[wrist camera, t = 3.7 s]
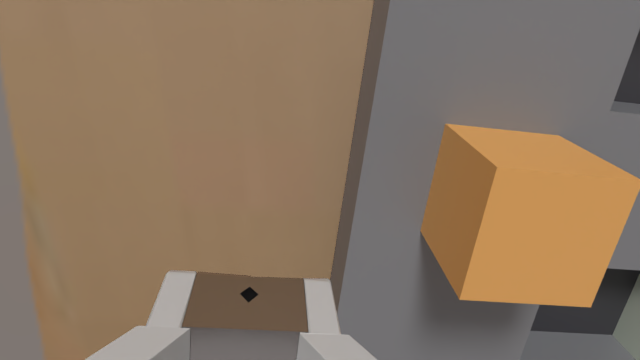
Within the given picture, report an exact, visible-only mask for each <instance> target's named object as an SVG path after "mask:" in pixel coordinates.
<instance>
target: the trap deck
mask: <svg viewBox="0 0 640 360" xmlns="http://www.w3.org/2000/svg"><path fill="white" fill-rule="evenodd" d="M445 124H454V125H464V126H473V127H483V128H492V129H502V130H512V131H521V132H531V133H540V134H550V135H559V136H561V137H563V138H564V139H566V140H568V141H570V142H572V143H574V144H576V145H577V146H579V147H581V148H583V149H585V150H587V151H589V152H590V153H592V154H594V155H596V156H598V157H600V158H602V159H603V160H605V161H607V162H609V163H611V164H613V165H615V166H616V167H618V168H620V169H622V170H624V171H626V172H628V173H629V174H631V175H633V176H635V177H637V178H639V179H640V0H374V5H373V11H372V18H371V24H370V31H369V37H368V43H367V50H366V56H365V62H364V69H363V75H362V82H361V88H360V94H359V101H358V107H357V113H356V120H355V126H354V133H353V139H352V145H351V152H350V158H349V164H348V171H347V177H346V183H345V190H344V196H343V203H342V209H341V215H340V222H339V228H338V234H337V241H336V247H335V254H334V260H333V266H332V273H331V279H330V281H331V285H332V290H333V295H334V300H335V305H336V311H337V316H338V321H339V326H340V331H341V334H344V335H350V336H351V337H352V338H353V339H354V340H355V341H357V342H358V343H359V344H360V345H361V346H362V347H363V348H365V349H366V350H367V351H368V352H369V353H370V354H371V355H373V356H374V357H375V358H376V359H377V360H640V190H639V192H638V195H637V197H636V200H635V202H634V204H633V207H632V209H631V212H630V214H629V216H628V219H627V221H626V224H625V226H624V228H623V231H622V233H621V236H620V238H619V241H618V243H617V245H616V248H615V250H614V253H613V255H612V257H611V260H610V262H609V265H608V267H607V270H606V272H605V274H604V277H603V279H602V282H601V284H600V286H599V289H598V291H597V294H596V296H595V299H594V301H593V303H592V306H591V307H575V306H557V305H540V304H523V303H506V302H489V301H471V300H459V298H458V296H457V295H456V293H455V291H454V289H453V288H452V286H451V284H450V282H449V281H448V279H447V277H446V275H445V273H444V272H443V270H442V268H441V266H440V265H439V263H438V261H437V259H436V258H435V256H434V254H433V252H432V251H431V249H430V247H429V245H428V244H427V242H426V240H425V238H424V236H423V235H422V233H421V231H420V230H421V226H422V222H423V218H424V213H425V209H426V205H427V200H428V196H429V192H430V187H431V183H432V179H433V174H434V170H435V166H436V161H437V157H438V153H439V148H440V144H441V140H442V135H443V131H444V127H445Z"/></svg>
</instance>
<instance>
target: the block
mask: <svg viewBox="0 0 640 360" xmlns="http://www.w3.org/2000/svg"><path fill="white" fill-rule="evenodd" d="M639 190H640V179H639V178H637V177H635V176H633V175H631V174H629V173H628V172H626V171H624V170H622V169H620V168H618V167H616V166H615V165H613V164H611V163H609V162H607V161H605V160H603V159H602V158H600V157H598V156H596V155H594V154H592V153H590V152H589V151H587V150H585V149H583V148H581V147H579V146H577V145H576V144H574V143H572V142H570V141H568V140H566V139H564V138H563V137H561V136H559V135H550V134H540V133H531V132H521V131H512V130H502V129H492V128H483V127H473V126H464V125H454V124H445V127H444V131H443V135H442V140H441V144H440V148H439V153H438V157H437V161H436V166H435V170H434V174H433V179H432V183H431V187H430V192H429V196H428V200H427V205H426V209H425V213H424V218H423V222H422V226H421V230H420V231H421V233H422V235H423V236H424V238H425V240H426V242H427V244H428V245H429V247H430V249H431V251H432V252H433V254H434V256H435V258H436V259H437V261H438V263H439V265H440V266H441V268H442V270H443V272H444V273H445V275H446V277H447V279H448V281H449V282H450V284H451V286H452V288H453V289H454V291H455V293H456V295H457V296H458V298H459V300H471V301H489V302H506V303H523V304H540V305H557V306H575V307H591V306H592V303H593V301H594V299H595V296H596V294H597V291H598V289H599V286H600V284H601V282H602V279H603V277H604V274H605V272H606V270H607V267H608V265H609V262H610V260H611V257H612V255H613V253H614V250H615V248H616V245H617V243H618V241H619V238H620V236H621V233H622V231H623V228H624V226H625V224H626V221H627V219H628V216H629V214H630V212H631V209H632V207H633V204H634V202H635V200H636V197H637V195H638V192H639Z"/></svg>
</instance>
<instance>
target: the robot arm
mask: <svg viewBox="0 0 640 360" xmlns="http://www.w3.org/2000/svg"><path fill="white" fill-rule="evenodd" d="M85 360H377V359H376V358H375V357H374V356H373V355H371V354H370V353H369V352H368V351H367V350H366V349H365V348H363V347H362V346H361V345H360V344H359V343H358V342H357V341H355V340H354V339H353V338H352V337H351V336H350V335H344V334H341V331H340V326H339V321H338V316H337V311H336V305H335V300H334V295H333V290H332V285H331V281H330V280H329V279H323V278H277V277H251V276H247V275H234V274H221V273H208V272H198V273H197V272H196V271H179V270H170V271H169V272H168V273H166V276H165V278H164V281H163V283H162V286H161V288H160V291H159V293H158V296H157V299H156V301H155V304H154V306H153V309H152V311H151V314H150V316H149V319H148V322H147V324H146V326H136V327H135V328H133V329H131V330H130V331H128V332H127V333H125V334H124V335H122V336H121V337H119V338H117V339H116V340H114V341H113V342H111V343H110V344H108V345H107V346H105V347H104V348H102V349H100V350H99V351H97V352H96V353H94V354H93V355H91V356H90V357H88V358H86V359H85Z"/></svg>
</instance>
